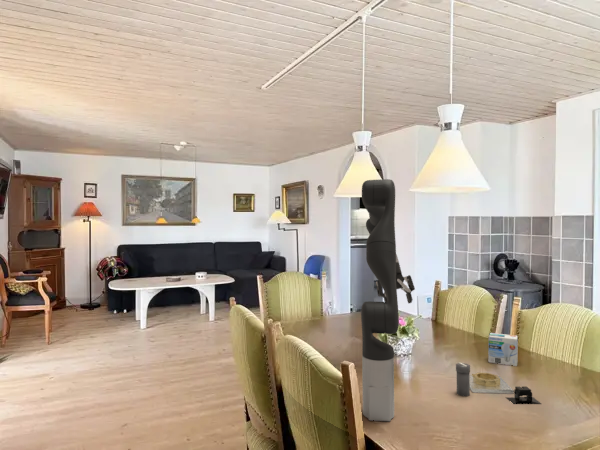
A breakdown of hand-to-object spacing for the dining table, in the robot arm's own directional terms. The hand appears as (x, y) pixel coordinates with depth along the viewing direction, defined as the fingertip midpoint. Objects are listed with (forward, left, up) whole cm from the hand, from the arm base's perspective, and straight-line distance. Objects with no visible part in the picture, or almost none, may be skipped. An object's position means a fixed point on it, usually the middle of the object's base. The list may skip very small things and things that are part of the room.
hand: (399, 304), depth 164 cm
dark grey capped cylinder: (-20, -18, -25) cm, 37 cm away
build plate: (-24, -35, -26) cm, 50 cm away
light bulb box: (+15, -43, -26) cm, 52 cm away
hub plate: (-12, -28, -25) cm, 40 cm away
